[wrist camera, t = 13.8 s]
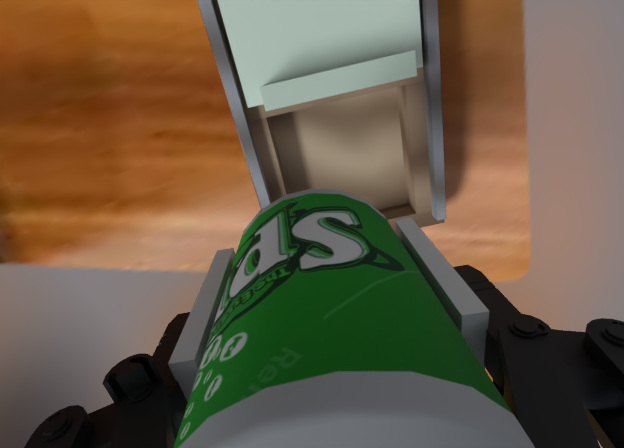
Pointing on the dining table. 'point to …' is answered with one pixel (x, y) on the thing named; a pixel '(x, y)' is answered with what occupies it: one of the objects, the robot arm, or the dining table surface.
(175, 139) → the dining table surface
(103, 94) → the dining table surface
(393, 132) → the wooden tray box
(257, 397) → the soda can
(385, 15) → the lid
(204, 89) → the dining table surface
